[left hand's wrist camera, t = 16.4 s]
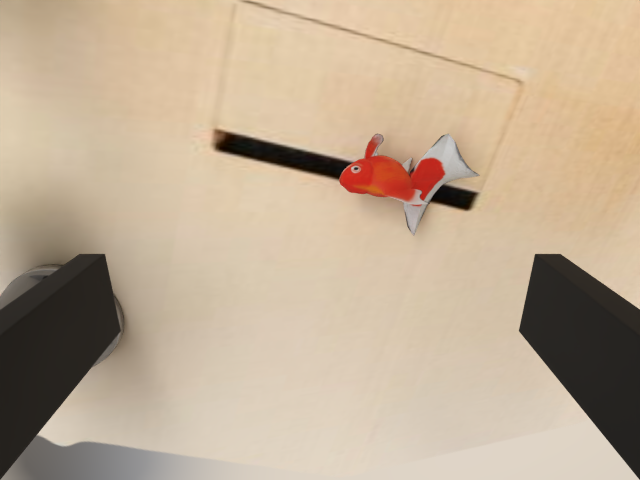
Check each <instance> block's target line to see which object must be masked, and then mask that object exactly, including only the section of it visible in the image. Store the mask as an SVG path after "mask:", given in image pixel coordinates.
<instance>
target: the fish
mask: <svg viewBox="0 0 640 480" xmlns="http://www.w3.org/2000/svg"><path fill="white" fill-rule="evenodd" d="M382 142H383V136H382V135H380V134H376V135H374V136H373V137H372V139H371V141H370V142H369V143H368V145H367V148H366V152H365V158H364V159H360V160H357V161H356V162H354V163H352V164H351V165H349V166H348V167H347V168H346V169H345V170H344V171H343V172H342V174H341V177H340V180H339V181H340V184H341V185H342V186H343V187H345V188H346V189H347V191H349V192H351V193H359V194H365V193H367V194H370V195H373V196H378V197H391V198H394V199H397V200H400V201H402V202H403V203H404V210H405V215H406V220H407V225H408V228H409V230H410V231H411V233H412V234H413V236H414V235H415V232H416V230H417V227H418V225H419V222H420V220H421V218H422V216H423V214H424V211H425V209H426V207H427V205H428V204H430V203H429V202H430V200H431V198H432V197H433V195H434V194H435V192H436V191H437V190H438V189H439V187H440V186H441V185H443V184H444V183H447V182H449V181H452V180H455V179H459V178H469V177H475V176H480V175H479V174H477V173H475V172H474V171H472V170H471V169H470V168H469V167H468V166H467V164H466V163H465V162H464V160H463V158H462V157H461V155H460V153H459V150H458V148H457V145H456V142H455V141H454V140H453V139H452V137H451V136H450V135H449V134H446V135H443V136H441V137H440V139H439V140H438V141H437V142H436V143H435V144H434V145H433V146H432V147H431V148H430V149H429V150H428V151H427V152H426V154H425V155H424V156H423V157H422V158H421V159H420V161H419V162H418V163H417V164H416V165H415V167H414V168H413V169H412V170H411V171H410V175H409V174H408V171H409V168H410V164H411V161H412V158H410V159H408V160H407V161H406V162H405V163H403V164H402V165H401V164H400V163H399V162H398V161H396V160H394V159H392V158H390V157H387V156H379V155H378V153H377V152H376V151H377V148H378V147H379V145H380V144H381V143H382Z"/></svg>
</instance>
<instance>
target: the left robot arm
mask: <svg viewBox="0 0 640 480" xmlns="http://www.w3.org/2000/svg"><path fill="white" fill-rule="evenodd" d="M123 329H124V319H123V314H122V310H121V308H120V305H119V303H118V301H117V300H116V298H115V296H114V295H113V291H112V286H111V281H110V276H109V272H108V267H107V262H106V257H105V254H79V255H78V256H76V257H75V258H73V259H72V260H70V261H69V262H68V263H66V264H65V265H45V266H40V267H36V268H33V269H31V270H29V271H27V272H25V273H24V274H22V275H21V276H19V277H18V278H16V279H15V280H13V281H12V282H11V283H10V284H9V285H8V287H7V288H6V289H5V290H4V292H3V293H2V295H1V296H0V479H1V478H2V477H3V476H4V474H5V473H6V472H7V471H8V469H9V468H10V467H11V466H12V465H13V463H14V462H15V461H16V460H17V458H18V457H19V456H20V455H21V453H22V452H23V451H24V450H25V449H26V447H27V446H28V445H29V444H30V442H31V441H32V440H33V439H34V437H35V436H36V435H37V434H38V433H39V431H40V430H41V429H42V428H43V426H44V425H45V424H46V423H47V422H48V420H49V419H50V418H51V417H52V415H53V414H54V413H55V412H56V410H57V409H58V408H59V407H60V406H61V404H62V403H63V402H64V401H65V399H66V398H67V397H68V396H69V394H70V393H71V392H72V391H73V390H74V388H75V387H76V386H77V385H78V383H79V382H80V381H81V380H82V378H83V377H84V376H85V375H86V374H87V372H88V371H89V370H90V369H91V368H92V367H93V366H95V365H97V364H98V363H100V362H101V361H103V360H104V359H105V358H106V357H108V356H109V355H110V353H111V352H112V351H113V350H114V348H115V347H116V346H117V344H118V343H119V341H120V339H121V337H122V334H123ZM519 332H520V333H521V334H522V335H523V337H524V338H525V339H526V340H527V341H528V343H529V344H530V345H531V346H532V348H533V349H534V350H535V351H536V353H537V354H538V355H539V356H540V358H541V359H542V360H543V361H544V362H545V364H546V365H547V366H548V367H549V369H550V370H551V371H552V372H553V374H554V375H555V376H556V377H557V378H558V380H559V381H560V382H561V383H562V385H563V386H564V387H565V388H566V390H567V391H568V392H569V393H570V394H571V396H572V397H573V398H574V399H575V401H576V402H577V403H578V404H579V406H580V407H581V408H582V409H583V410H584V412H585V413H586V414H587V415H588V417H589V418H590V419H591V420H592V421H593V423H594V424H595V425H596V426H597V428H598V429H599V430H600V431H601V433H602V434H603V435H604V436H605V437H606V439H607V440H608V441H609V442H610V444H611V445H612V446H613V447H614V449H615V450H616V451H617V452H618V454H619V455H620V456H621V457H622V458H623V460H624V461H625V462H626V463H627V465H628V466H629V467H630V468H631V470H632V471H633V472H634V473H635V474H636V476H637V477H638V478H639V479H640V309H638V308H637V307H635V306H634V305H632V304H631V303H630V302H628V301H627V300H625V299H624V298H622V297H621V296H620V295H618V294H617V293H615V292H614V291H612V290H611V289H610V288H608V287H607V286H605V285H604V284H602V283H601V282H600V281H598V280H597V279H595V278H594V277H592V276H591V275H590V274H588V273H587V272H585V271H584V270H582V269H581V268H580V267H578V266H577V265H575V264H574V263H572V262H571V261H570V260H568V259H567V258H565V257H564V256H562V255H561V254H535V257H534V262H533V267H532V272H531V276H530V281H529V286H528V291H527V295H526V300H525V305H524V309H523V314H522V319H521V324H520V328H519Z"/></svg>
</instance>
